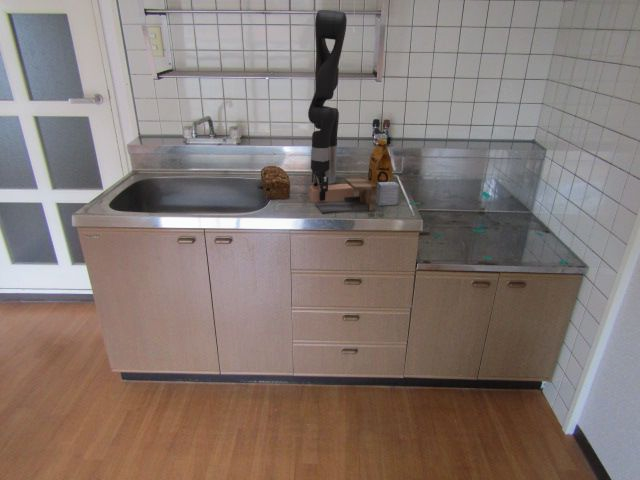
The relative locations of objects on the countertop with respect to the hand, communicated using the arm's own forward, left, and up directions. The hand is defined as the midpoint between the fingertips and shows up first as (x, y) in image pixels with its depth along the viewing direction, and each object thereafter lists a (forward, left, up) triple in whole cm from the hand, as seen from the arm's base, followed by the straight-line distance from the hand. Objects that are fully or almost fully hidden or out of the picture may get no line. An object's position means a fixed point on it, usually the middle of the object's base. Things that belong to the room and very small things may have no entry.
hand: (319, 197), depth 181 cm
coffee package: (-5, +29, -1) cm, 30 cm away
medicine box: (+11, +25, -1) cm, 28 cm away
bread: (-13, -16, -2) cm, 20 cm away
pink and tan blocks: (+11, +7, -1) cm, 13 cm away
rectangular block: (0, +5, -1) cm, 6 cm away
